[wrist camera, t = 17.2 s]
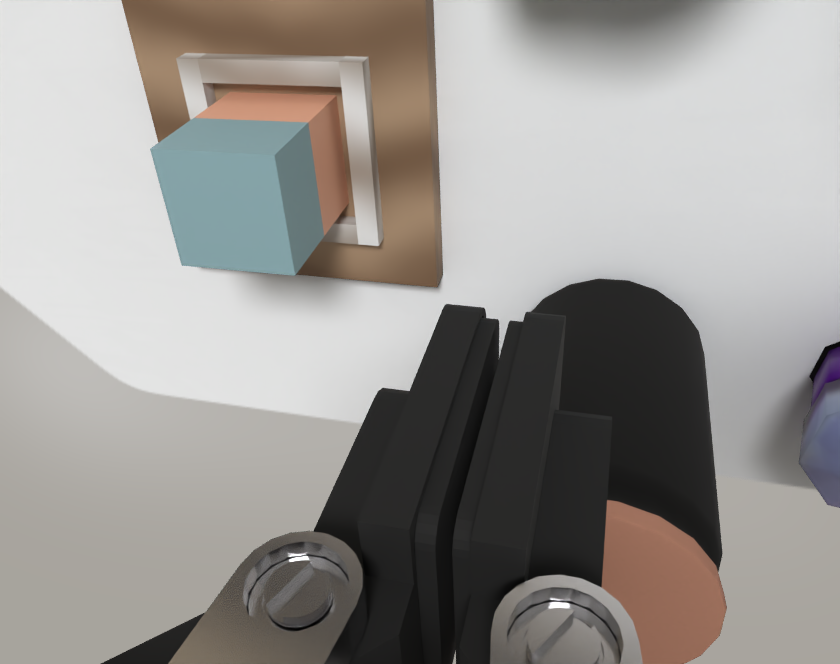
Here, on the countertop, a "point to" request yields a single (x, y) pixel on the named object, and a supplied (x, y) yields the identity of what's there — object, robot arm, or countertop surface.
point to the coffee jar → (649, 458)
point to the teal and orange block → (254, 181)
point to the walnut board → (320, 75)
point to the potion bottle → (824, 427)
